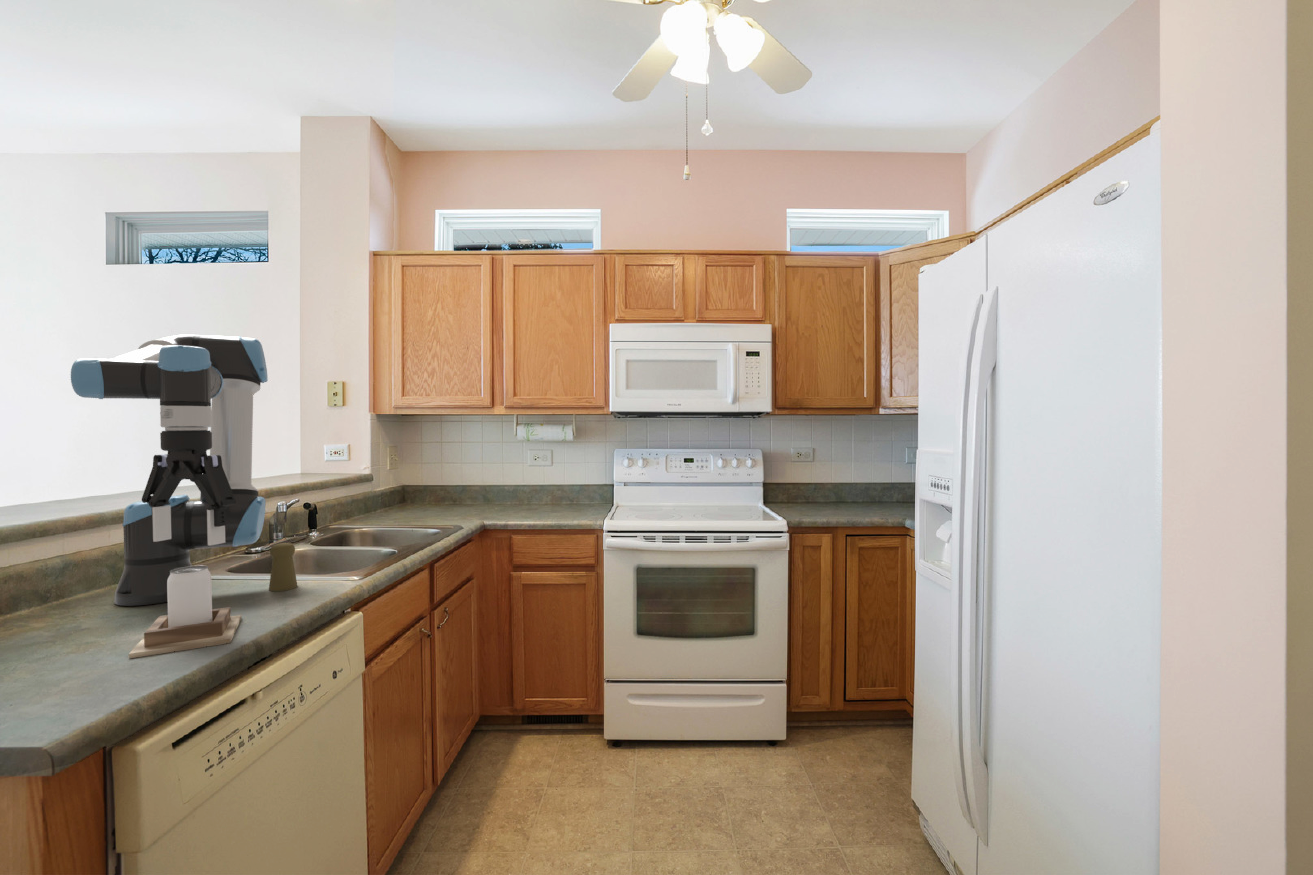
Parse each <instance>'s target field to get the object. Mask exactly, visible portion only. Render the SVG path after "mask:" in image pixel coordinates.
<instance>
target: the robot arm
mask: <svg viewBox="0 0 1313 875" xmlns="http://www.w3.org/2000/svg"><path fill="white" fill-rule="evenodd" d="M268 379H269V378H268V369H267V363H266V358H265V353H264V349H263V345H262V343H261V342H260V341H259V340H258V339H257V338H254V337H243V336H239V335H238V336H229V335H228V336H225V335H210V334H208V335H206V334H196V333H195V334H194V333H193V334H192V333H190V334H189V333H187V334H186V333H185V334H176V335H169V336H163V337H159V338H156V339H151V340H148V341H146V342H144V343H142V344H141V345H139V347H138V348H137V349H135V350H132V351H129V352H127V353H124V354H121V355H118V356H114V357H111V358H98V357H94V358H93V357H92V358H78V359H76V360H75V361H74V362H73V363H72V366H71V369H70V382H71V383H70V384H71V387H72V389H73V391H74V393H75V394H76V395H77V396H79V397H81V398H85V399H86V398H88V399H98V400H103V399H132V400H133V399H134V400H135V399H147V400H149V399H150V400H156V399H157V400H159V406H160V407H159V409H160V410H159V411H160V413H159V414H160V417H159V418H160V427H161V428H164V430H161V432H159V433H160V436H159V437H160V438H159V439H160V450H162V451H165V452H167V454H166V453H165V454H154V455H153V457H152V458H153V459H152V468H151V470H150V471H151V472H150V474H149V476H148V479H147V482H146V486H145V488H144V491H143V493H142V497H141V501H137V502H133V503H129V504H128V505H127V506H126V507H125V508H124V511H123V523H122V527H123V557H124V561H123V562H124V564H123V565H124V567H123V571H122V574H121V577H120V579H119V582H118V584H117V587H116V589H115V592H114V604H115V605H116V606H121V607H122V606H123V607H135V606H147V605H154V604H155V605H156V604H162V603H163V604H164V603H166V602H167V603H168V598H167V580H168V578H169V576H170V571H171V570H173V569H177V568H181V567H187V566H193V565H192V563H191V561H190V560H191V558H190V550H191V551H192V550H199V549H211V548H212V549H214V548H226V547H228V548H229V547H234V548H236V547H239V546H246V545H253V544H254V543H256V542H257V541H258V540H259V538H260V537H261V535H262V531H263V528H264V527H263V526H264V523H265V517H266V516H265V515H266V498H265V497H263V496H259V489H257V488H256V487H255V486H254V485H253V484H252V472H253V469H252V467H253V465H252V464H253V463H252V462H253V428H254V427H253V423H254V422H253V417H254V416H253V415H254V411H253V410H254V395H255V394H256V393H257V392H259V391H261V383H262V384H264V383H267V382H268ZM209 428H210V430H209ZM207 451H209V455H208V454H207ZM183 480H189V481H190V482H192V483H194V484H195V485H196V487H197V489H198V490H199V492H200V498H199V499H197V500H191V499H190V497H189V496H188V494H181V495H173V494H174V493H175V491H176V489H177V488H178V487H179V485H180V483H181V481H183Z"/></svg>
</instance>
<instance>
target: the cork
mask: <svg viewBox="0 0 1313 875" xmlns="http://www.w3.org/2000/svg"><path fill="white" fill-rule="evenodd" d="M295 553H296V547H295V545H294V544H293V543H291V542H280V543H276V544H273V545H271V547H270V550H269V554H270V557H271V558H272V562H271V563H272V564H271V570H270V571H271V572H270V578H269V584H268V585H269V586H268V591H269V592H283V591H289V590H294V589H297V587H298V582H297V576H296V570H295V565H294V564H295V562H294V557H293V556H294V554H295Z"/></svg>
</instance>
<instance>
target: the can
mask: <svg viewBox="0 0 1313 875" xmlns="http://www.w3.org/2000/svg"><path fill="white" fill-rule="evenodd" d="M212 590H213V589H212V574H211V572H210V570H209V565H204V564H203V565H202V564H201V565H192V566H187V567H181V568H177V569H173V570H171V571H170V576H169V578H168V580H167V598H168V602H167V615H168V628H170V627H177V626H184V625H192V624H199V623H206V622H212V609H213V595H212V594H213V593H212V592H213V591H212Z"/></svg>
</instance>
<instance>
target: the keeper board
mask: <svg viewBox="0 0 1313 875" xmlns="http://www.w3.org/2000/svg"><path fill="white" fill-rule="evenodd" d="M241 620H242V614H239V615H238V614H237V615H231V607H230V606H229V607H221V608H220V607H219V608H212V622H206V623H199V624H192V625H184V626H177V627H170V628H168V614H165V615H159V616H158V617H157V618H156V619H155V621H154V622H152V624H150V626H149V627H148V628H147V629H146V630H145V631H144V632H143V637H142V638H141V640H140V641H139V642H138V643H137V644H136V645H135V646H134V647H133V648H132V650H130V652H129V653H128V659H134V658H141V657H147V656H156V655H160V654H167V653H173V652H174V651H175V652H179V651H180V652H181V651H187V650H193V649H199V648H206V646H207V647H213V646H219V645H225V644H226V643H227V644H231V642H232V639H233V637H234V636H235V634H236V632H237V628H238V627H239V625H240V622H241ZM234 633H235V634H234Z"/></svg>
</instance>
